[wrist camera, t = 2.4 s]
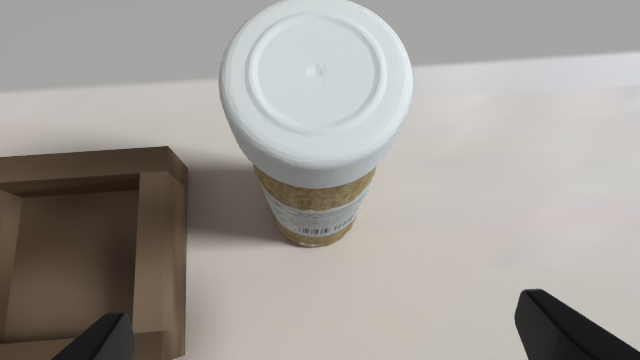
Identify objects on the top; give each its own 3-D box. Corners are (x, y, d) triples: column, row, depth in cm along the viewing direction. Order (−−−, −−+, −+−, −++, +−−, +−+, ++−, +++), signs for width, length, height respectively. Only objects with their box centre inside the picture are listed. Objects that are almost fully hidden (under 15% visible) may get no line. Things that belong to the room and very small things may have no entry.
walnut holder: (184, 354, 20) (161, 363, 17) (-19, 372, 19) (-81, 384, 16) (187, 167, 23) (168, 146, 20) (9, 180, 22) (-39, 159, 19)
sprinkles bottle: (357, 169, 23) (415, -9, 10) (355, 252, 21) (421, 170, 9) (274, 165, 23) (225, -19, 10) (267, 248, 21) (201, 160, 9)
